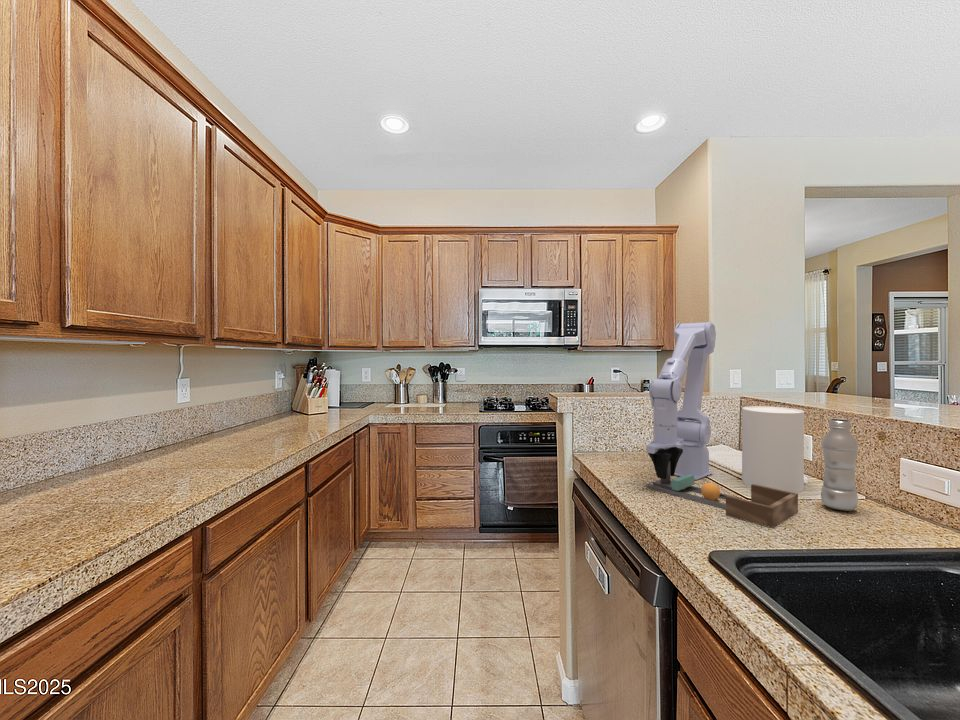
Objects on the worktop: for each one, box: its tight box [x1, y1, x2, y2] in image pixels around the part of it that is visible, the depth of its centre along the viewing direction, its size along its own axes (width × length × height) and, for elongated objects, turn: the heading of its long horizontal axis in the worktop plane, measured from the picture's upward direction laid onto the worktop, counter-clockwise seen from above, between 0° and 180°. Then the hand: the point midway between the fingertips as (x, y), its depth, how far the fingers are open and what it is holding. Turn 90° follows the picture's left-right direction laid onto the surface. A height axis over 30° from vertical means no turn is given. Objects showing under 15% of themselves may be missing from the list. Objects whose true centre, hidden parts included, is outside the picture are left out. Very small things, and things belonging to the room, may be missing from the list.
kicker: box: [652, 461, 695, 491], centre depth 111 cm, size 8×8×7 cm
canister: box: [741, 405, 805, 494], centre depth 114 cm, size 14×14×20 cm
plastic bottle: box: [820, 418, 859, 512], centre depth 96 cm, size 6×7×20 cm
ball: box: [700, 482, 721, 501], centre depth 103 cm, size 4×4×4 cm
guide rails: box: [646, 483, 743, 510], centre depth 107 cm, size 7×20×1 cm, turn 37°
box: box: [725, 484, 799, 528], centre depth 95 cm, size 14×9×4 cm, turn 127°
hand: (665, 476), depth 113 cm, fingers open, 3 cm apart
